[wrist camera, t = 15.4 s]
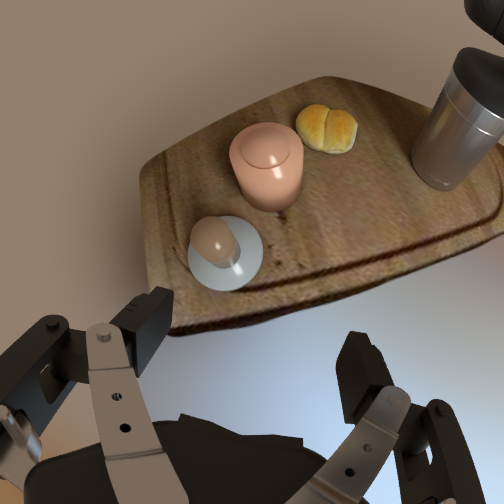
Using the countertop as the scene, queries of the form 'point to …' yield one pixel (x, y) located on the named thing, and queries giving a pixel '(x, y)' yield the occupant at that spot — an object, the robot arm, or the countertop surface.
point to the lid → (224, 252)
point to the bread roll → (326, 129)
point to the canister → (268, 165)
